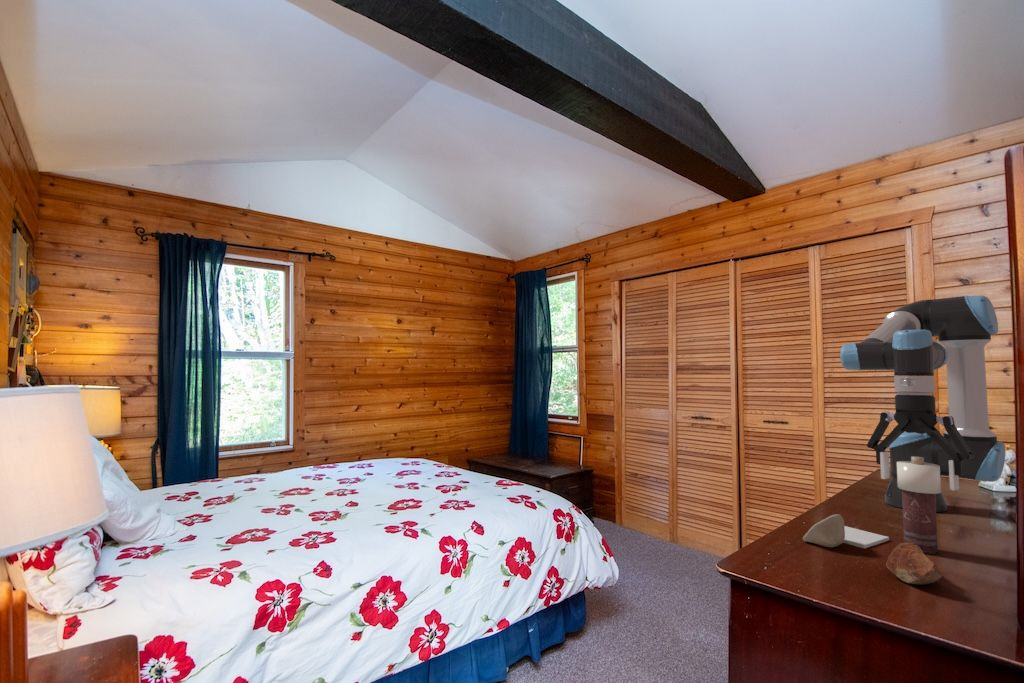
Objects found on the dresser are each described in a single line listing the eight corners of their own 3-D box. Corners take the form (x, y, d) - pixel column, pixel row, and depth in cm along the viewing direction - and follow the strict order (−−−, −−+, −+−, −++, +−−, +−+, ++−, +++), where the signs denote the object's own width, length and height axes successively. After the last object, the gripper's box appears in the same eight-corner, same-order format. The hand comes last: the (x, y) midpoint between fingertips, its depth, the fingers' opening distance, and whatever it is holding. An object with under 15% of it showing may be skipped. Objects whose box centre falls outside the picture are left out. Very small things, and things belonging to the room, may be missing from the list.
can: (945, 555, 114) (942, 493, 114) (913, 553, 115) (911, 491, 116) (928, 546, 119) (926, 487, 120) (899, 544, 121) (896, 485, 122)
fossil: (888, 546, 109) (910, 516, 104) (933, 572, 104) (959, 542, 99) (874, 583, 101) (897, 552, 96) (922, 613, 96) (950, 582, 91)
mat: (837, 527, 134) (837, 524, 134) (889, 540, 124) (889, 537, 124) (812, 534, 128) (812, 531, 128) (864, 548, 118) (864, 545, 118)
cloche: (906, 484, 123) (905, 453, 124) (947, 491, 116) (945, 458, 117) (891, 487, 119) (889, 456, 120) (932, 495, 113) (930, 461, 113)
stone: (804, 541, 126) (827, 509, 126) (831, 560, 122) (855, 527, 122) (800, 537, 119) (824, 503, 119) (829, 558, 114) (854, 523, 114)
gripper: (849, 392, 128) (852, 475, 127) (975, 396, 107) (981, 496, 105) (864, 392, 132) (867, 473, 131) (989, 396, 110) (994, 493, 109)
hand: (918, 483), depth 118 cm, fingers open, 13 cm apart
